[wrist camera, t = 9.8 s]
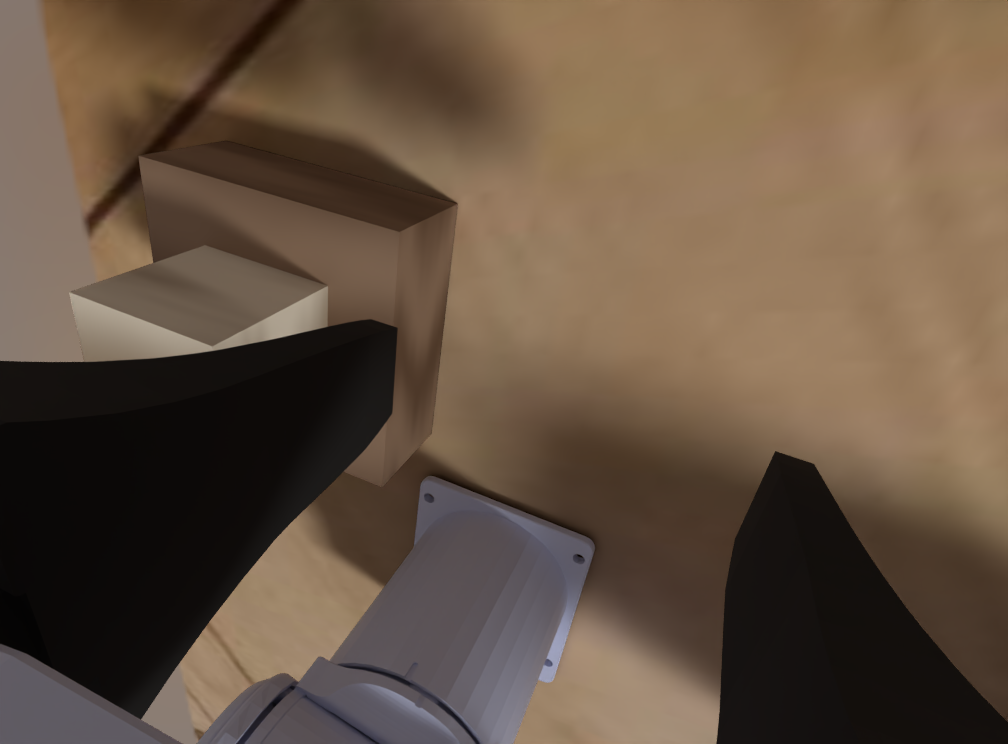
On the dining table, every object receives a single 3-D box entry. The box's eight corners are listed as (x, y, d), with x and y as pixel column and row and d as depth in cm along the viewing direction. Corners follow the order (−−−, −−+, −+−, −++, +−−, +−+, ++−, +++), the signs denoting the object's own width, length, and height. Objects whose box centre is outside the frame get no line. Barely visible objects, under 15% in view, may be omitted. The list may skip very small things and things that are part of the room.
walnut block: (431, 433, 27) (381, 487, 24) (241, 361, 29) (173, 401, 26) (457, 204, 22) (399, 231, 19) (226, 140, 24) (138, 155, 21)
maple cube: (326, 411, 23) (226, 491, 19) (216, 368, 24) (100, 434, 20) (328, 285, 20) (212, 346, 16) (205, 245, 22) (68, 292, 18)
